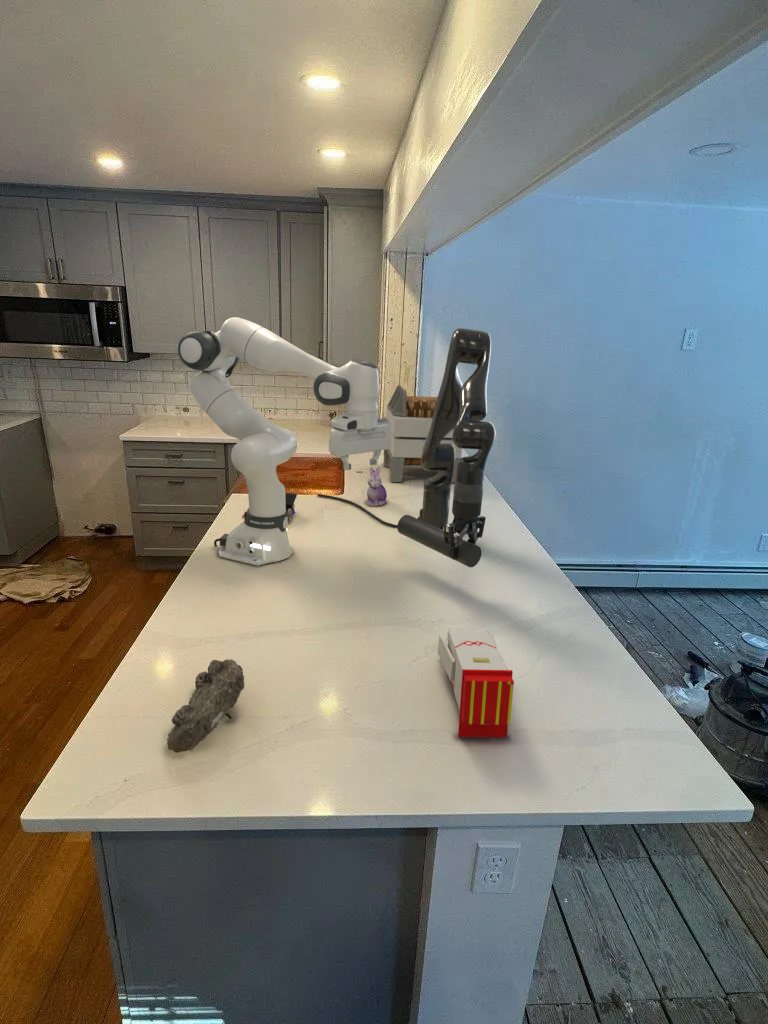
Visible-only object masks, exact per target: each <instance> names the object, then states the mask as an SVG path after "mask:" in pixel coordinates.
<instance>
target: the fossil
mask: <svg viewBox="0 0 768 1024" xmlns="http://www.w3.org/2000/svg"><path fill="white" fill-rule="evenodd" d="M243 670H244V669H243V667H242V665H240V664H237V662H236V661H235V660H234V659H232V658H231V659H227V658H226V659H224V660H223V661H222V660H217V659H212V660H211V661H210V663H209V665H208V666H207V671H201V672H199V673H198V674H197V675H196V676H195V680H194V684H195V685H194V687H195V689H194V690H193V693H192V694H191V697H190V698H189V700H188V704H184V705H182V706H181V707H180V709H177V710H176V711H175V713H174V715H173V716H172V718H171V723H172V724H173V727H172V730H171V731H170V732H168V734H167V738H166V741H167V742H166V745H167V749H168V750H169V751H173V752H174V753H176V754H178V753H182V752H188V751H189V752H192V751H193V750H195V748H196V747H197V746H199V744H200V743H201V742H203V741H204V740H205V739H206V738H207V737H208V736H209V735H210V734H211V733H212V732H214V730H215V729H217V727H218V726H219V724H220V722H221V721H222V720H223V719H224V718H225V716H226V717H227V719H229V720H233V717H232V715H230V714H229V710H230V709H231V708H234V706H235V704H236V703H237V702H238V699H239V697H240V695H241V693H242V691H243V690H245V689H244V688H245V675H244V671H243Z"/></svg>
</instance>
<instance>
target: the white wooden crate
mask: <svg viewBox="0 0 768 1024" xmlns="http://www.w3.org/2000/svg"><path fill="white" fill-rule="evenodd" d="M407 394H408V393H407V390H406V389H404V388H403V387H402V385H399V384H398V385H397V386H396V388H395V390H394V392H393V394H392V395H391V398H390V400H389V402H388V404H387V405H386V413H385V414H386V415H385V418H387V419H388V420H389V421H390V430H391V446H390V448H389V449H385V450H383V466H384V467H388V468H389V475H388V476H389V477H388V478H389V480H390V482H391V483H402V482H403V475H404V469H405V466H406V467H407V466H411V467H412V466H413V467H415V466H416V467H417V466H418V467H422V465H421V453H422V449H423V446H424V443H425V440H426V438H427V435H428V432H429V429H430V426H431V422H432V418H433V414H434V409H435V405H436V401H437V397H438V396H415V395H414V396H413V395H412V396H411V395H407ZM453 431H454V429H453V430H452V431H451V432H450V433H449V434H447V435H446V436H445V437H444V438H443V439H442V441H441V442H440V443H450V444H452V445H453V446H454V449H455V465H454V471H453V479H452V484H455V481H456V472H457V463H458V460H459V459H460V458H462V453H463V449H461V448H458V447H457V446H456V445H455V444H454V442H453V438H452V435H453Z"/></svg>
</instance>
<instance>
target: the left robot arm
mask: <svg viewBox="0 0 768 1024" xmlns="http://www.w3.org/2000/svg"><path fill="white" fill-rule="evenodd" d="M177 354H178V355H177V356H178V357H179V359H180V361H181V363H182V364H183V365H185V366H186V367H187V368H189V369H192V370H194V371H196V372H195V374H194V375H193V376H192V378H191V379H190V381H189V391H190V393H191V395H192V396H193V399H195V401H196V403H197V404H198V405H199V406H200V408H201V409H202V411H204V413H205V414H206V415H207V416H208V417H209V418H210V419H211V420H212V421H213V422H214V424H215V425H216V426H217V427H218V428H219V429H220V430H221V431H222V432H223V433H224V434H225V435H227V436H229V437H232V438H235V439H237V440H239V441H237V443H235V444H234V446H232V448H231V452H230V459H231V463H232V465H233V467H234V468H235V469H236V470H237V471H238V472H239V473H240V474H242V476H243V477H244V478H243V479H244V482H245V484H246V487H247V496H248V508H247V510H246V511H245V512H243V514H242V515H241V520H243V519H244V520H243V522H241V523H240V524H238V525H237V526H236V527H234V528H233V529H232V530H231V531H229V533H224V534H223V535H221V537H219V538H216V539H214V541H213V546H214V548H217V547H218V543H217V542H219V546H220V548H219V550H218V557H220V558H224V559H227V560H232V561H235V562H236V561H237V562H240V563H245V564H249V565H252V566H263V565H265V564H269V563H276V562H281V561H283V560H284V561H285V560H286V559H288V558H289V557H291V555H292V554H293V550H292V547H291V545H290V542H289V536H288V526H289V522H288V518H287V510H286V499H285V493H286V487H285V485H284V484H283V482H281V481H280V480H279V478H278V474H277V467H278V466H281V464H284V463H286V462H288V461H289V460H290V459H291V458H292V457H293V456H294V455H295V454H296V451H297V449H298V440H297V437H296V436H295V434H294V433H293V432H292V431H291V430H290V429H287V428H284V427H282V426H279V425H277V424H276V423H274V422H272V421H271V420H269V419H268V418H266V416H264V415H263V414H260V413H259V412H258V411H257V410H256V409H254V408H253V407H252V406H251V405H250V404H249V403H248V402H247V401H246V399H244V398H243V397H242V396H241V395H240V393H239V392H238V391H237V389H235V388H234V387H233V386H232V385H231V384H230V383H229V381H228V380H227V378H229V377H231V376H232V374H233V372H234V369H235V368H236V367H237V366H238V363H239V360H242V361H244V362H245V363H247V364H249V365H251V367H252V366H253V367H255V368H256V369H259V370H263V371H266V372H270V373H271V372H272V373H273V372H275V373H276V372H277V373H279V372H281V373H282V372H284V373H285V372H287V373H289V372H290V373H297V374H300V375H303V376H305V377H308V378H310V379H311V380H314V381H313V394H314V396H315V398H316V400H317V401H318V402H319V403H320V404H321V405H324V406H328V407H336V406H340V405H344V406H345V407H346V412H343V413H341V414H340V415H338V416H336V417H334V418H332V419H331V420H330V426H331V427H332V428H331V429H330V431H329V437H328V452H329V453H330V455H332V456H334V457H337V458H338V457H339V458H340V460H341V462H342V464H343V470H344V471H351V470H352V463H349V461H348V459H349V457H350V456H351V455H358V454H365V453H371V452H372V453H373V454H372V457H371V458H369V465H370V466H371V467H373V466H377V465H378V460H379V458H380V456H381V454H382V451H384V450H385V449H389V448H390V446H391V430H390V421H389V420H388V419H387V418H386V416H384V417H379V406H378V399H379V395H380V393H379V392H380V379H379V370H378V367H377V366H376V365H375V364H374V363H373V362H371V361H368V360H365V359H359V358H358V359H357V358H356V359H351V360H350V361H348V362H347V363H346V364H344V365H341V366H339V365H335V364H332V363H329V362H328V361H326V360H323V359H321V358H319V357H317V356H315V355H313V354H311V353H309V352H307V351H305V350H304V349H301V348H299V347H298V346H296V345H294V344H293V343H291V342H289V341H287V340H286V339H284V338H283V337H281V336H279V335H278V334H276V333H274V332H273V331H271V330H269V329H267V328H265V327H264V326H262V325H261V324H259V323H255V322H254V321H251V320H248V319H245V318H242V317H238V316H232V317H229V318H228V319H226V320H225V321H224V322H223V324H222V325H221V327H220V329H219V330H218V331H217V332H214V331H213V330H196V331H191V332H188V333H186V334H184V335H183V336H182V337H181V338H180V339H179V341H178V344H177Z"/></svg>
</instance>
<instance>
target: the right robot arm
mask: <svg viewBox="0 0 768 1024" xmlns="http://www.w3.org/2000/svg"><path fill="white" fill-rule="evenodd" d="M447 351H448V352H447V356H446V362H445V367H444V372H443V377H442V380H441V385H440V387H439V390H438V394H437V396H436V397H437V401H436V405H435V409H434V414H433V418H432V422H431V426H430V429H429V432H428V435H427V438H426V440H425V443H424V446H423V449H422V453H421V465H422V466H421V467H422V469H423V470H424V471H428V472H429V471H430V472H438V473H436V474H435V475H433V476H431V477H428V478H427V479H425V480H424V482H423V493H422V496H423V497H422V506H421V508H420V509H419V516H418V517H417V519H419V520H421V521H423V522H426V523H428V524H430V525H432V526H435V527H437V528H439V529H441V530H443V531H444V544H446V545H448V546H450V550H449V557H450V559H452V560H453V561H456V559H457V556H458V545H459V543H460V540H462V539H464V537H465V535H467V538H468V539H467V541H468V542H470V543H473V544H475V545H477V541H479V538H482V537H483V536H484V535H483V534H484V530H485V523H486V518H487V517H486V516H484V515H481V513H482V503H483V495H484V475H485V468H486V464H487V461H488V457H489V455H490V452H491V449H492V448H493V445H494V443H495V439H496V436H497V435H496V432H497V431H496V428H495V426H494V424H493V423H491V422H490V421H483V420H484V419H485V418H486V417H487V415H488V399H487V398H488V397H487V386H488V378H489V371H490V370H489V369H490V363H491V362H490V361H491V353H492V338H491V335H490V333H488V332H486V331H483V330H478V329H477V330H476V329H470V328H463V327H458V328H456V329H455V330H454V331H453V333H452V335H451V338H450V342H449V345H448V350H447ZM460 363H461V364H465V365H466V364H468V365H473V366H476V368H475V369H474V371H473V372H472V374H471V375H470V376H469V377H468V378H467V379H466V380H465V381H464V383H463V382H462V380H461V377H460V374H459V370H458V365H459V364H460ZM453 429H454V431H453V435H452V438H453V442H454V444H455V445H456V446H457V447H458V448H461V449H462V450H463V449H464V450H477V452H475V454H472V455H467V456H463V457H462V456H461V458H460V459H459V460H458V463H457V472H456V481H455V483H454V486H453V494H452V493H451V491H452V484H453V483H452V479H453V471H454V465H455V449H454V446H453V445H452V444H450V443H440V442H441V441H442V439H443V438H444V437H445V436H446V435H447V434H449V433H450V432H451V431H452V430H453ZM451 494H452V495H453V496H452V504H451ZM317 497H320V498H327V499H332V500H337V501H342V502H345V503H347V504H351V505H353V506H355V507H357V508H358V509H360V510H361V511H364V512H365V513H366V514H367V515H369V516H370V517H372V518H373V519H375V520H377V521H378V522H379V523H381V524H383V525H384V526H388V527H391V528H396V529H397V525H398V524H394V523H390V522H387V521H385V520H383V519H381V518H380V517H378V516H376V515H375V514H373V513H372V512H371V511H369V510H367V509H366V508H365V507H363V506H362V505H360V504H358V503H356V502H354V501H351V500H348V499H345V498H342V497H338V496H334V495H333V496H332V495H328V494H322V493H318V494H317ZM450 504H451V505H452V506H451V513H452V515H453V519H452V521H451V523H449V517H450V516H449V514H450ZM478 529H479V530H478ZM448 538H449V540H448ZM455 538H456V541H455V542H454V539H455ZM449 557H448V558H449Z"/></svg>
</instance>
